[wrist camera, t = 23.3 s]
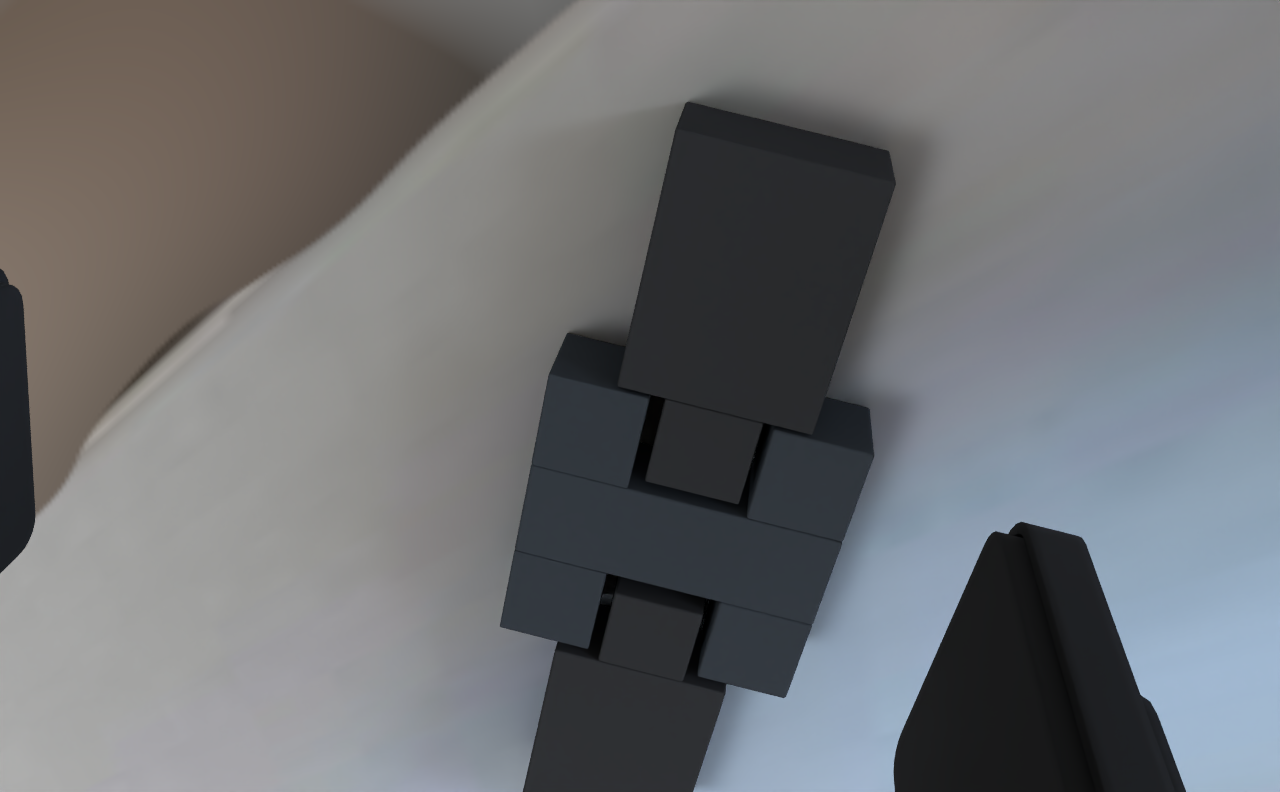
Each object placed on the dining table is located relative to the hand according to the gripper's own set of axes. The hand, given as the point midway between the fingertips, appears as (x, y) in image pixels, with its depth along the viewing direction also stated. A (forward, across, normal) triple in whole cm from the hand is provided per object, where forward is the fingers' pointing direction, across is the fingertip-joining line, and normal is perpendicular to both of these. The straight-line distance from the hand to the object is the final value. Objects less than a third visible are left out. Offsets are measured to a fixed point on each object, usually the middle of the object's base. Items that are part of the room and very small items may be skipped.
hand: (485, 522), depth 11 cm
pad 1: (+24, -3, +23) cm, 34 cm away
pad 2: (+24, -3, +7) cm, 26 cm away
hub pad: (+24, -3, +15) cm, 29 cm away
